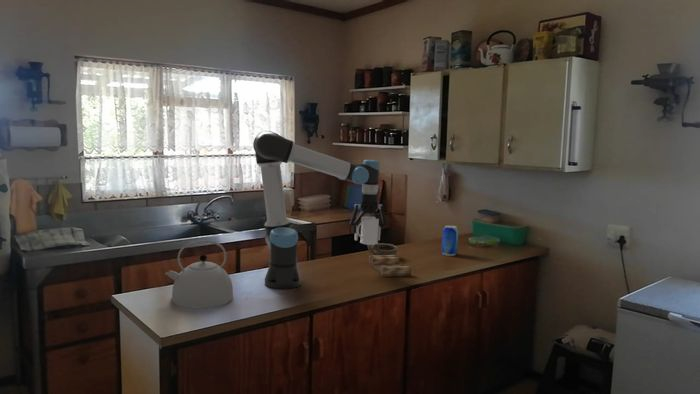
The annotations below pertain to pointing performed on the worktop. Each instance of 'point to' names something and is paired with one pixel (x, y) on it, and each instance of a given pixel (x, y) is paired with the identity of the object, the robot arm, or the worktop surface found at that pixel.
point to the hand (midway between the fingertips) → (367, 239)
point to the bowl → (382, 249)
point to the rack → (389, 266)
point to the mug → (369, 230)
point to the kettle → (201, 283)
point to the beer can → (449, 240)
